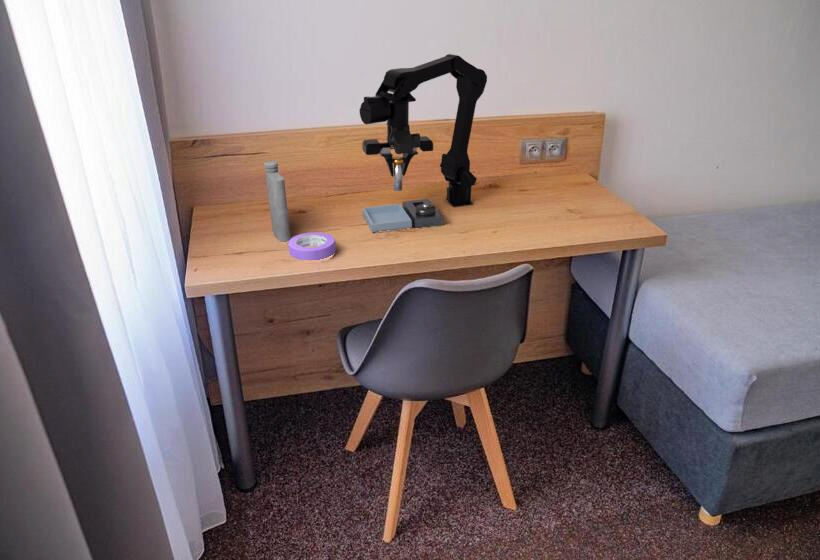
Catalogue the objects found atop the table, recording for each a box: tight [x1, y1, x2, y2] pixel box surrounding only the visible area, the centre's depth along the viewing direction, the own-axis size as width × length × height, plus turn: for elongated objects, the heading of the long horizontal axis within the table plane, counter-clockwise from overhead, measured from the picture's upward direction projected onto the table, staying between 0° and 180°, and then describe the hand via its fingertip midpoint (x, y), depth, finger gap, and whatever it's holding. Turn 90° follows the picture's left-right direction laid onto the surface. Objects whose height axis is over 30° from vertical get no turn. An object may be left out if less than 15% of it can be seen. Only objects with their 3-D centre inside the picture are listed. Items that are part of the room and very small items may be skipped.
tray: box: [362, 203, 413, 233], centre depth 178 cm, size 11×13×2 cm
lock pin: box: [392, 156, 405, 192], centre depth 175 cm, size 4×4×9 cm
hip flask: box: [263, 160, 292, 242], centre depth 168 cm, size 16×4×20 cm, turn 18°
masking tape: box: [288, 231, 336, 261], centre depth 160 cm, size 12×12×4 cm
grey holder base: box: [401, 198, 444, 229], centre depth 180 cm, size 8×14×5 cm, turn 15°
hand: (397, 175), depth 175 cm, fingers closed on lock pin, 3 cm apart
